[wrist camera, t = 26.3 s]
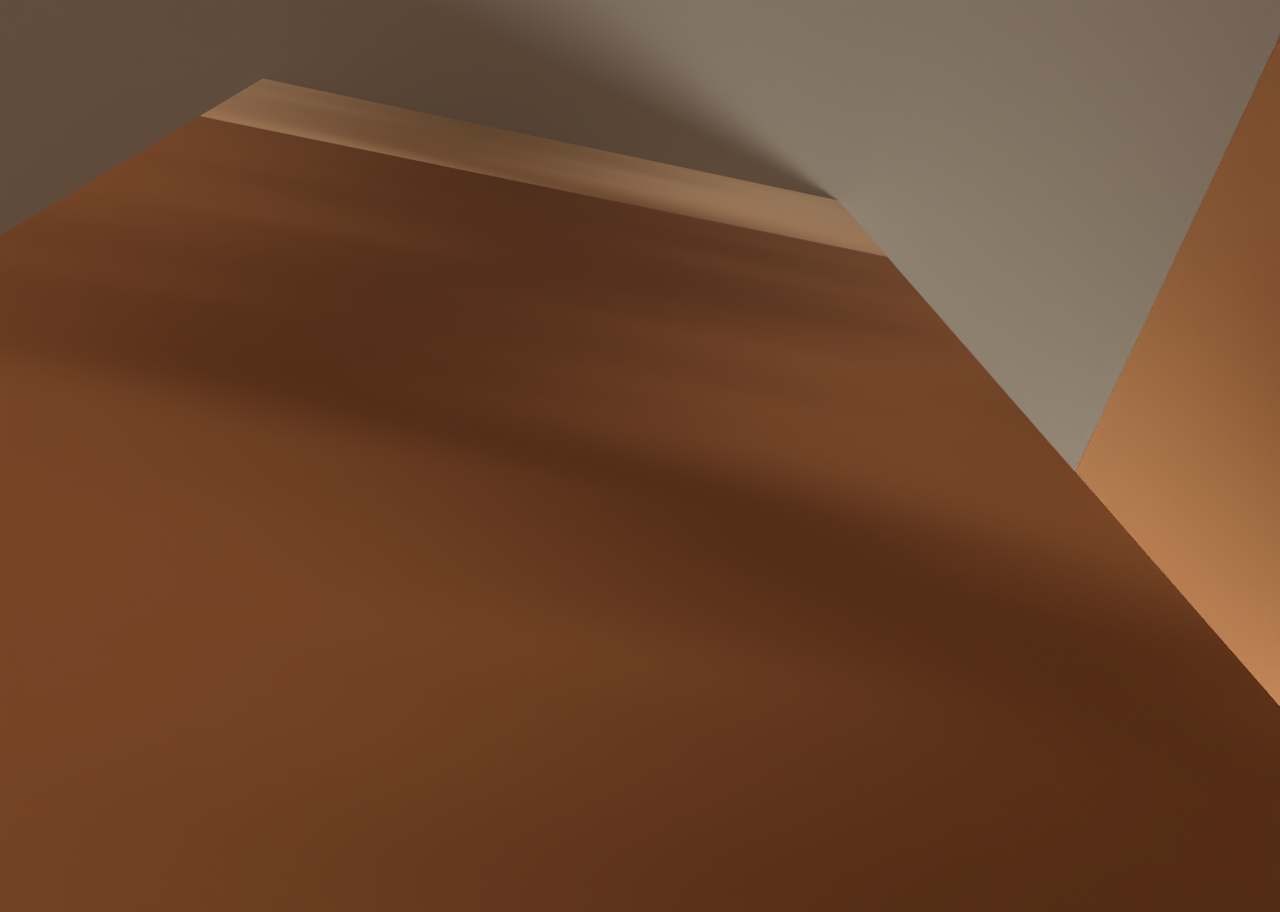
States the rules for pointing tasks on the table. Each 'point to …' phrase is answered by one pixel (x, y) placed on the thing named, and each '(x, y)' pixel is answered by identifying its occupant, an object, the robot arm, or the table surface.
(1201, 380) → the table surface
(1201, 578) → the table surface
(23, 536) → the walnut box
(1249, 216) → the table surface
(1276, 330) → the table surface
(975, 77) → the gray board
